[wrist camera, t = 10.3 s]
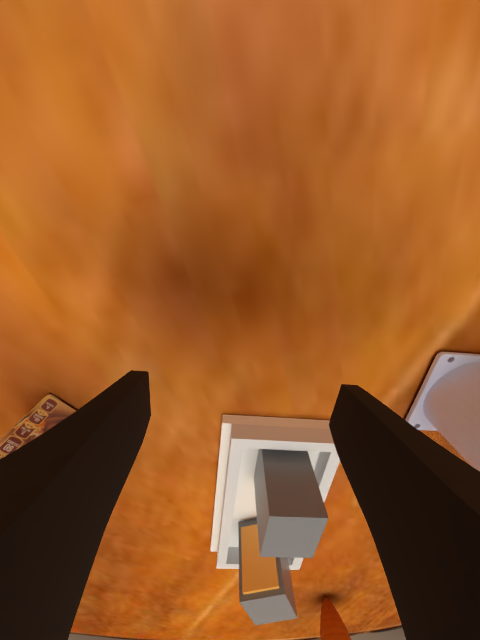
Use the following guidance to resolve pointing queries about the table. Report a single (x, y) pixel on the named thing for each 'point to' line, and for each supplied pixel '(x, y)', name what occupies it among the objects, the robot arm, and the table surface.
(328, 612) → the carrot
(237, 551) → the white tray
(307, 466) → the grey toy block
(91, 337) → the table surface
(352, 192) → the table surface
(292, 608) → the grey block orange top
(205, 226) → the table surface
